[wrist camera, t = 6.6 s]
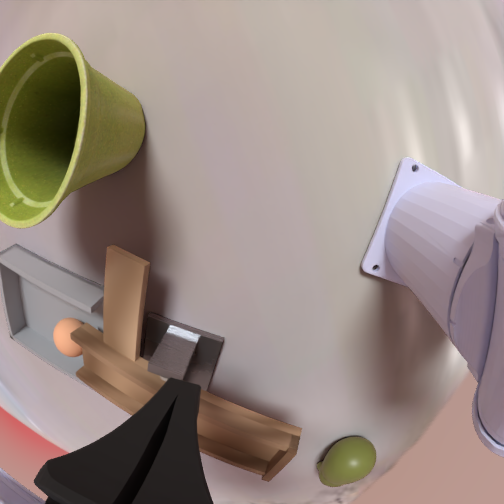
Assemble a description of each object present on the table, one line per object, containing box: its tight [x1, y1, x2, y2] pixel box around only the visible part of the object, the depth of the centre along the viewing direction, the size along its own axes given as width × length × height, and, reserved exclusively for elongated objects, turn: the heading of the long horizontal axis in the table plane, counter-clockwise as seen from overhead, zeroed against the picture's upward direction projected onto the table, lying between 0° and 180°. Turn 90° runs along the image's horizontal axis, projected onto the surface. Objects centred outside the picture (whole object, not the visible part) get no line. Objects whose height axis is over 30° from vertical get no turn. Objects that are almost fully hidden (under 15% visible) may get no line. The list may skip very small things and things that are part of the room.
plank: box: [70, 245, 302, 482], centre depth 16 cm, size 18×13×2 cm
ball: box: [53, 318, 83, 357], centre depth 20 cm, size 4×4×4 cm
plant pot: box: [0, 33, 145, 229], centre depth 12 cm, size 9×9×9 cm
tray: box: [0, 244, 104, 391], centre depth 21 cm, size 12×10×3 cm
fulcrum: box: [143, 312, 224, 391], centre depth 20 cm, size 6×9×5 cm, turn 163°
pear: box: [317, 437, 376, 487], centre depth 24 cm, size 6×5×10 cm
